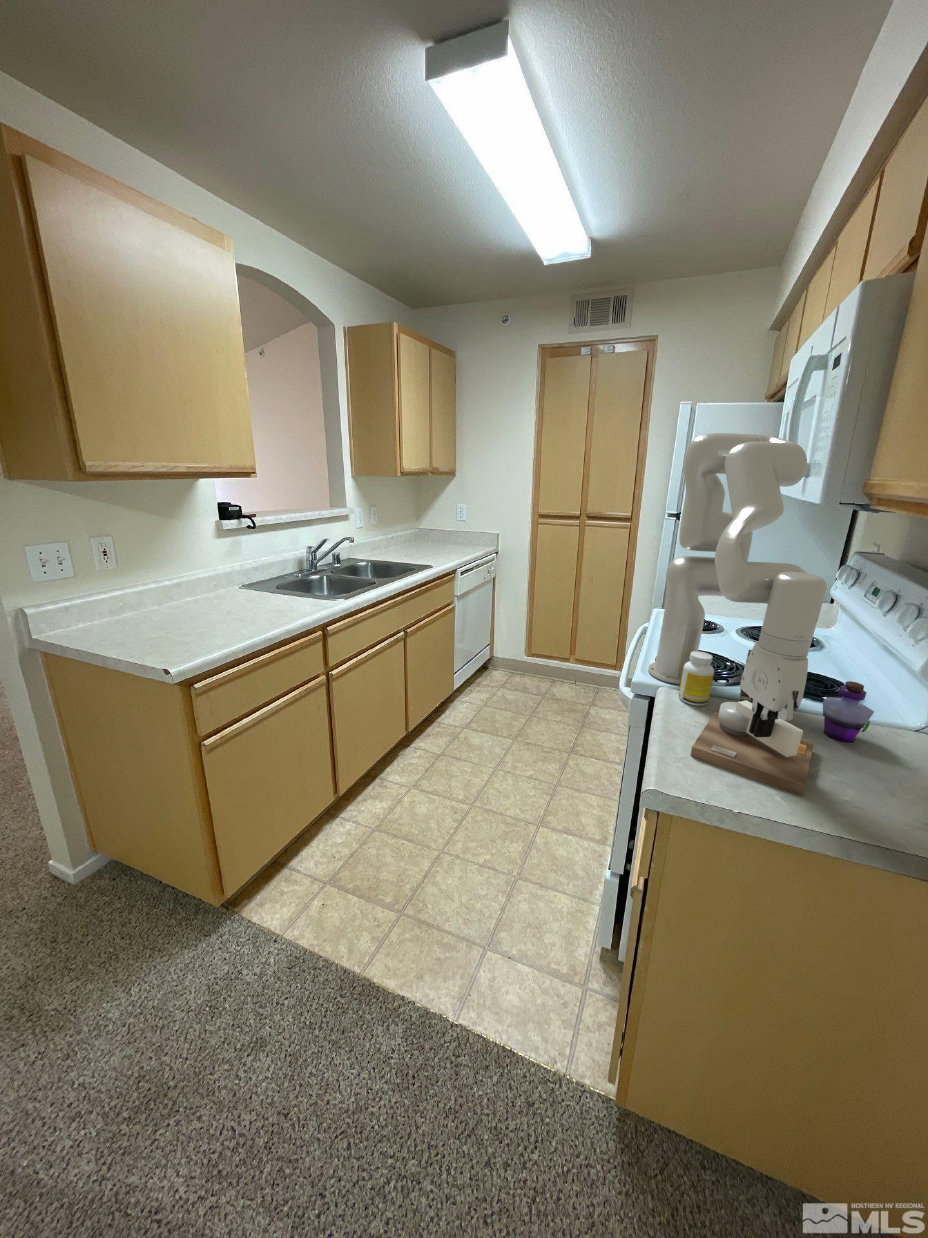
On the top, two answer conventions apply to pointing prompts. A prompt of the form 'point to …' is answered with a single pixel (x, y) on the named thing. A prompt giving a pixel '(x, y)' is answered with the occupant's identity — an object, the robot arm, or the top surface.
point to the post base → (753, 756)
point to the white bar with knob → (780, 740)
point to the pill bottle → (697, 679)
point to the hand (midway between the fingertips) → (759, 734)
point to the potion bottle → (846, 713)
